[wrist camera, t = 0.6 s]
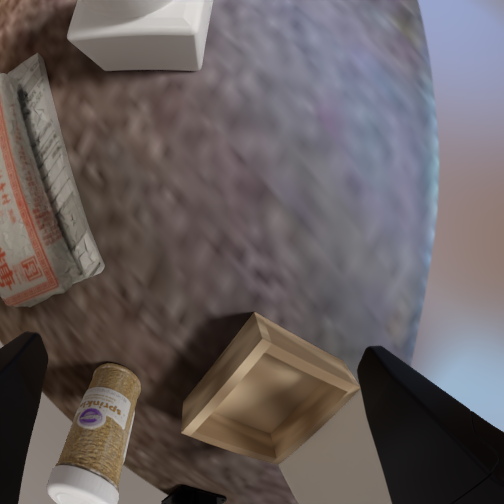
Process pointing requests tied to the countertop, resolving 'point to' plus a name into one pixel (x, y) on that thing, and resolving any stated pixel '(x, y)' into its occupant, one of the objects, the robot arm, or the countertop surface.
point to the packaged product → (38, 195)
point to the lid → (338, 462)
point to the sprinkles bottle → (97, 440)
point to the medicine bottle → (142, 33)
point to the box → (266, 393)
